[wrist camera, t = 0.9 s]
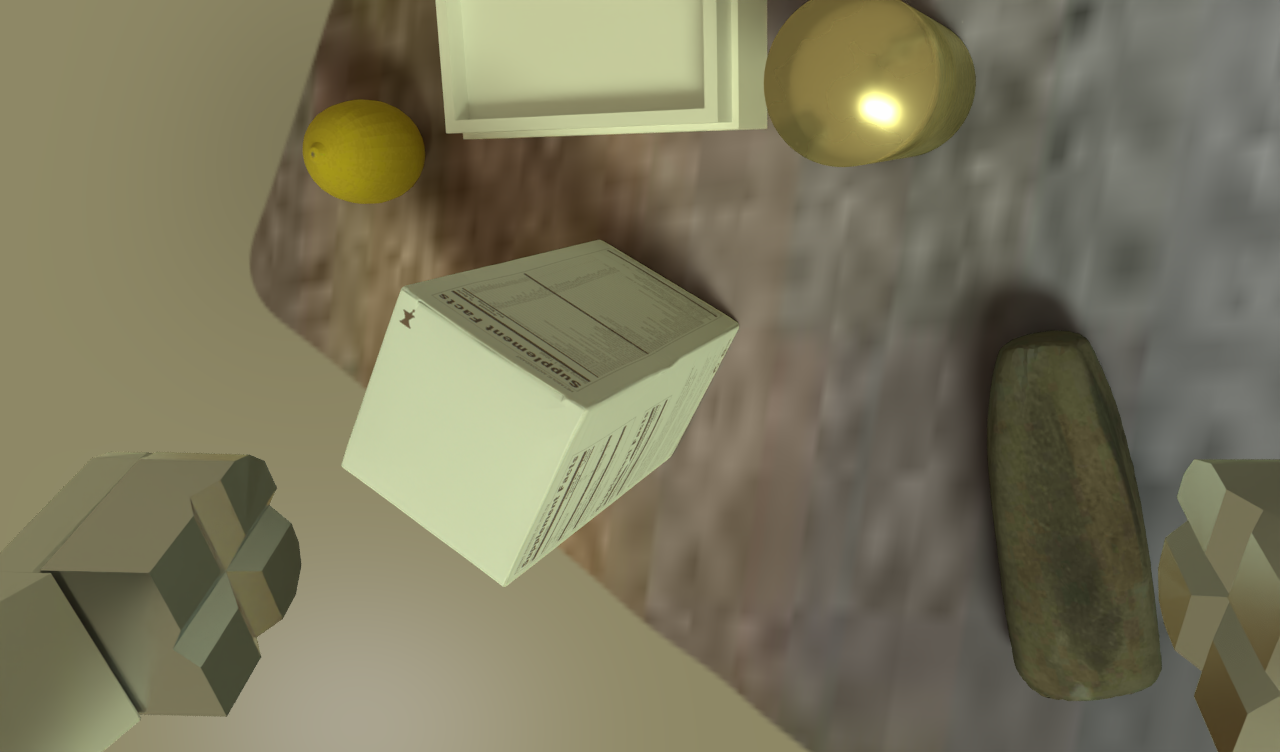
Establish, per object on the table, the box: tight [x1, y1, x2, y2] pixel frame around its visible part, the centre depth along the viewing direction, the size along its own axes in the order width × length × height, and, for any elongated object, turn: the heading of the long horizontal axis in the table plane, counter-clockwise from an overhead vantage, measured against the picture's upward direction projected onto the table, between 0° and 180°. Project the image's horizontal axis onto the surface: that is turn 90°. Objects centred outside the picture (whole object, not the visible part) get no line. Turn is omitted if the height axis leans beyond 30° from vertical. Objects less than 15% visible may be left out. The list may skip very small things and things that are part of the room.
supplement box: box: [342, 240, 739, 587], centre depth 44 cm, size 10×9×17 cm
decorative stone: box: [987, 331, 1162, 701], centre depth 42 cm, size 17×6×4 cm, turn 14°
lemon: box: [303, 99, 425, 204], centre depth 51 cm, size 6×6×8 cm
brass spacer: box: [764, 0, 976, 167], centre depth 38 cm, size 6×6×11 cm
